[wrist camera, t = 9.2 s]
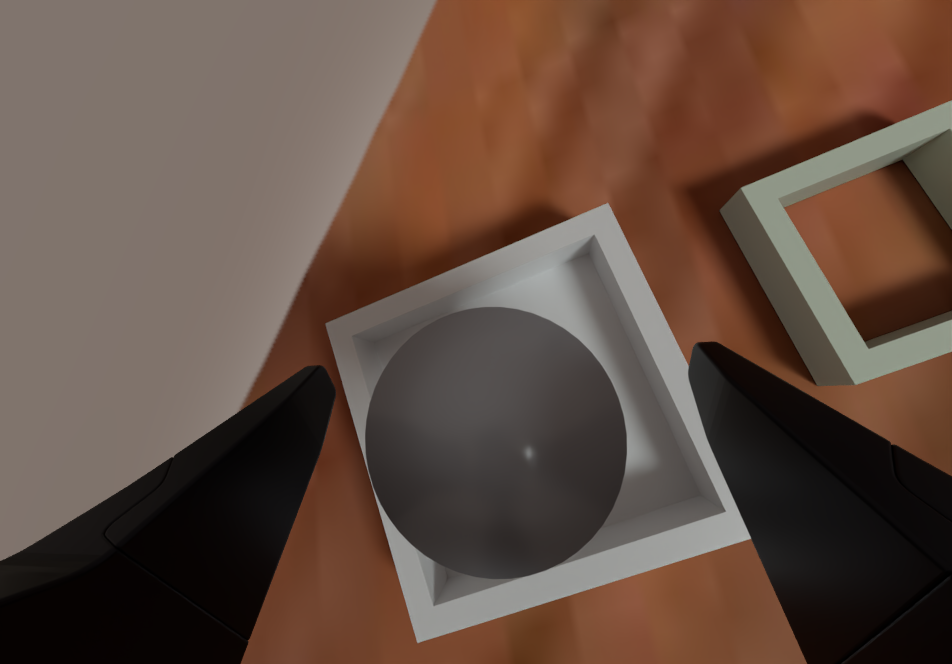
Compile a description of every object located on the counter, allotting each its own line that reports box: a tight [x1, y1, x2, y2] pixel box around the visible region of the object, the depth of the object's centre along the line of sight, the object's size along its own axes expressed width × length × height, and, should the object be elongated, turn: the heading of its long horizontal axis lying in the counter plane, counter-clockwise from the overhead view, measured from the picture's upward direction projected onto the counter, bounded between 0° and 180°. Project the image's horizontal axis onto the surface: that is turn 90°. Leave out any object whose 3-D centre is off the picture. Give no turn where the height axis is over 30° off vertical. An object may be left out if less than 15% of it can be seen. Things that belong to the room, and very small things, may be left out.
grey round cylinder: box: [365, 307, 627, 579], centre depth 12 cm, size 5×5×10 cm
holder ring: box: [719, 101, 952, 386], centre depth 15 cm, size 8×8×2 cm
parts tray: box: [325, 203, 751, 643], centre depth 16 cm, size 13×13×3 cm
